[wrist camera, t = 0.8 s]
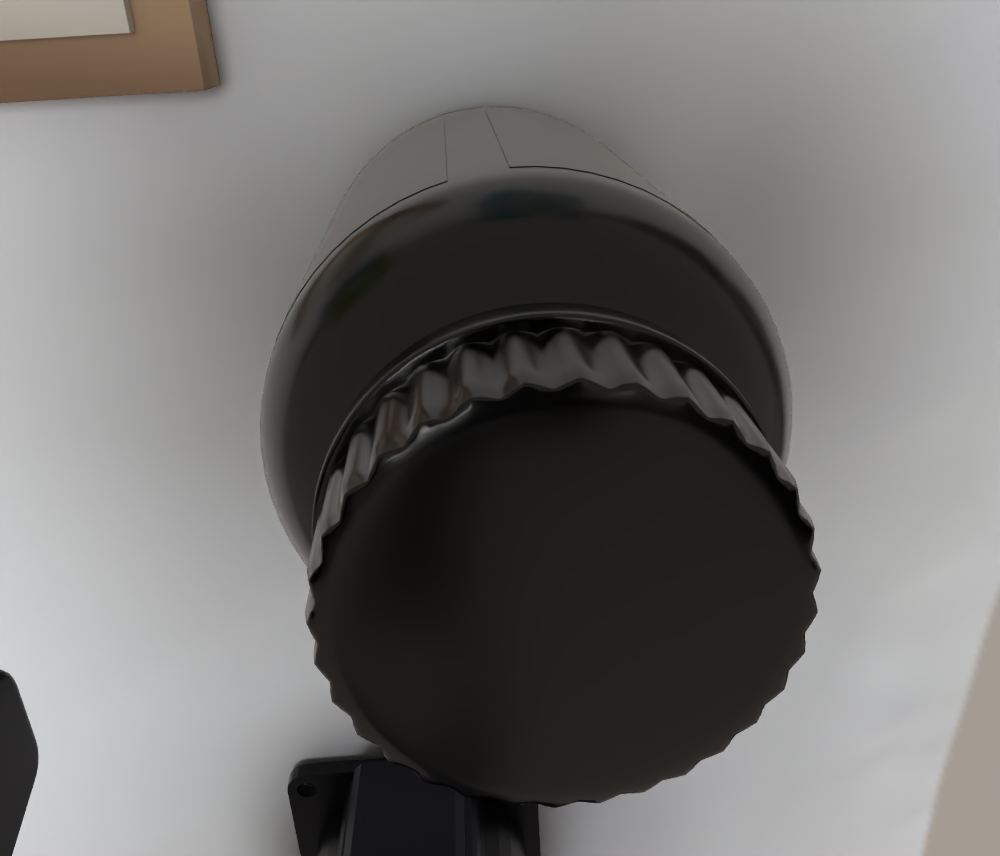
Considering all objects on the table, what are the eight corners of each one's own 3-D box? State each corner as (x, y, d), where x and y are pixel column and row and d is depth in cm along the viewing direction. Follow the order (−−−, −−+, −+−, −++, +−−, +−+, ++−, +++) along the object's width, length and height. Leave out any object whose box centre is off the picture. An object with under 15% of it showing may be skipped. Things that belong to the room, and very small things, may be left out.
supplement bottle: (481, 478, 21) (512, 979, 10) (260, 260, 19) (0, 610, 8) (724, 285, 20) (1063, 638, 9) (515, 19, 17) (623, 49, 6)
